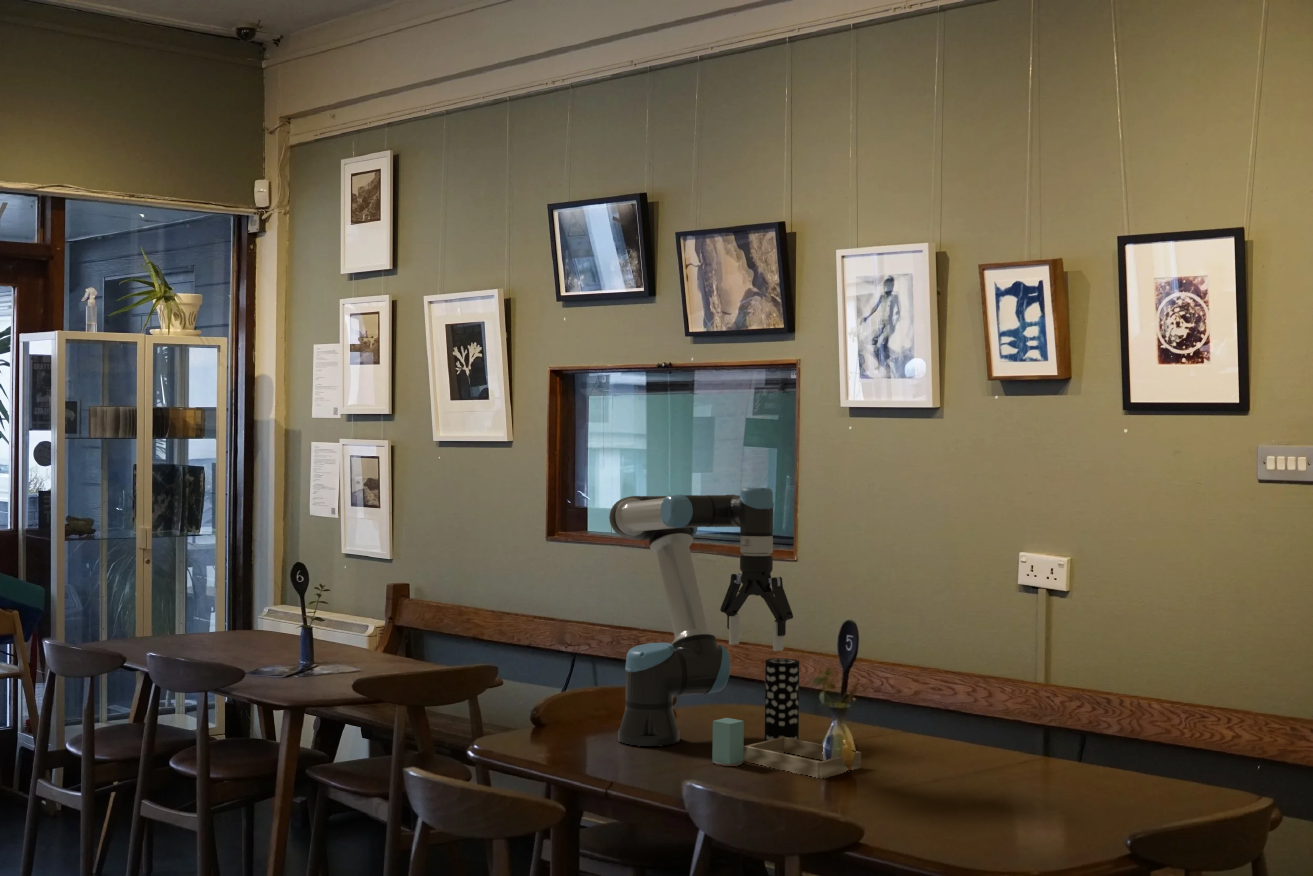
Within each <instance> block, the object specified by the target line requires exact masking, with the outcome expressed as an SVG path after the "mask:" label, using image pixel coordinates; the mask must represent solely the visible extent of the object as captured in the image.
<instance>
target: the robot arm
mask: <svg viewBox="0 0 1313 876" xmlns="http://www.w3.org/2000/svg"><path fill="white" fill-rule="evenodd" d="M773 498H774V495H773V490H772V489H771V488H770V487H749V486H748V487H743V488H741V489H740V494H739V495H738V494H725V495H724V494H720V495H719V494H718V495H717V494H714V495H713V494H705V495H704V494H701V495H699V494H696V495H694V494H690V495H689V494H688V495H687V494H674V495H673V494H672V495H670V494H669V495H632V496H626V497H623V498H621V499H619V500H618V501H616V502H615V503H614V505H612V507H611V509H610V512H609V516H608V517H609V518H608V519H609V524H610V526H611V528H612V530H613V531H614V532H615V533H616V534H617V535H618V536H620V537H622V538H625V539H627V540H631V541H632V540H633V541H648V545H649V549H650V550H651V552H653V553H655V554H656V555H657V559H658V564H659V569H660V575H661V577H662V582H663V587H664V593H665V597H666V601H667V607H668V611H669V615H670V616H669V617H670V620H671V625H672V630H673V635H674V639H673V641H672V642H671V643H670V642H663V641H662V642H649V643H644V644H639V645H636V646H633V647H631V648H630V649H629V650H628V651H627V653H626V660H625V668H624V669H625V705H624V706H625V708H624V712H623V715H622V718H621V723H620V727H619V728H618V731H617V741H618V742H619V743H620V742H622V743H621V744H623V743H625V744H624V745H626V744H630V745H629V746H631V745H640V746H660V745H669V744H673V745H675V744H674V743H676V744H678V743H679V742H680V729H679V728H678V725H677V721H676V716H675V713H674V707H673V705H674V704H673V703H674V702H673V701H674V697H676V696H677V697H678V696H679V697H680V696H691V695H694V696H695V695H709V694H713V693H719V692H721V691H722V690H723V689H725V687H726V686H727V684H728V681H729V677H730V674H731V656H730V653H729V650H728V649H727V648H726V647H725V646H724V645H721V644H718V642H717V639H716V638H717V637H716V635H715V634H713V633H712V632H710V630H709V629H708V624H707V620H706V616H705V612H704V607H703V603H702V598H701V594H700V589H699V585H698V584H699V583H698V581H697V576H696V571H695V566H694V563H693V558H692V554H691V549H690V546H691V545H692V543H694V537H695V536H696V534H697V531H698V528H739V532H740V533H739V536H740V541H739V547H740V548H739V551H740V553H741V555H740V557H739V570H740V571H741V573H732V574H731V575H730V583H729V586H728V588H727V590H726V593H725V596H724V598H723V600H722V604H721V607H720V609H719V610H720V612H721V613H724V614H725V615H726V616H727V618H726V619H727V621H726V622H727V625H726V627H727V630H728V645H730V646H731V645H739V644H740V615H739V610H740V609H742V606H743V605H744V603H746V600H748V598H749V596H758V597H759V596H760V598H762V599H763V600H764V602H765V604H766V605H767V607H768V610H769V611H770V612H771V614H772V615H773V616H772V617H774V619H775V620H774V621H772V628H773V629H772V642H773V643H772V651H773V652H777V651H784V637H785V636H786V633H787V631H786V627H787V625H786V623H787V622H788V621H789V620H793V618H794V614H793V612H792V611H793V610H792V608H791V606H790V603H789V600H788V598H787V594H786V591H785V589H784V586H783V585H784V584H783V578H782V577H781V576H775V577H773V576H772V574H771V573H772V572H773V568H774V567H773V562H774V561H773V559H774V558H773V555H771V554H773V552H774V537H773V534H774V533H773V532H774V507H775V506H774V505H775V503H774V499H773ZM741 584H742V585H741ZM677 742H678V743H677ZM640 746H639V747H640ZM669 746H670V745H669ZM660 747H661V746H660Z"/></svg>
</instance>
